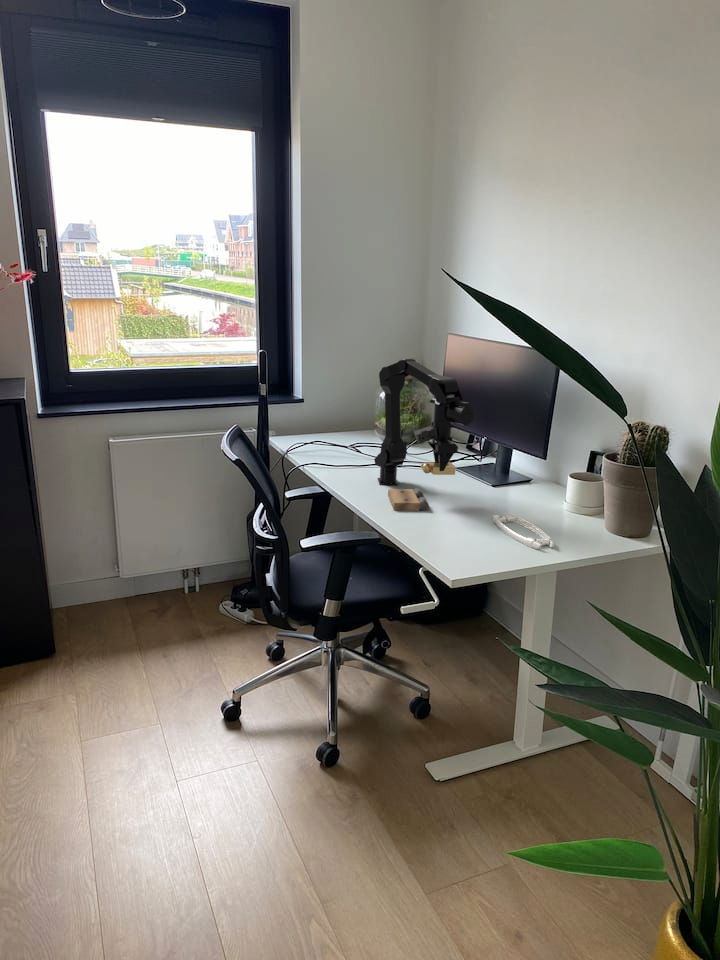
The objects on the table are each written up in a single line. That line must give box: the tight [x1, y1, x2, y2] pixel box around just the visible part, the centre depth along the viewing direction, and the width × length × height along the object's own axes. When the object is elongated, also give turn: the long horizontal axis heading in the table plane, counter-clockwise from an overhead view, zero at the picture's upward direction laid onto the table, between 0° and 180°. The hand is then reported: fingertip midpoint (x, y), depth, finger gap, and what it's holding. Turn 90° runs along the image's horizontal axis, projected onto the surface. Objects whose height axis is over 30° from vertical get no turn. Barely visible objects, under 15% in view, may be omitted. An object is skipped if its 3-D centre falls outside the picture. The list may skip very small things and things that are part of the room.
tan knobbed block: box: [420, 461, 456, 476], centre depth 227 cm, size 10×6×3 cm, turn 97°
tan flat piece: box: [387, 487, 430, 511], centre depth 228 cm, size 11×14×3 cm
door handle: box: [492, 513, 555, 550], centre depth 206 cm, size 3×10×25 cm
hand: (439, 468), depth 227 cm, fingers closed on tan knobbed block, 6 cm apart
